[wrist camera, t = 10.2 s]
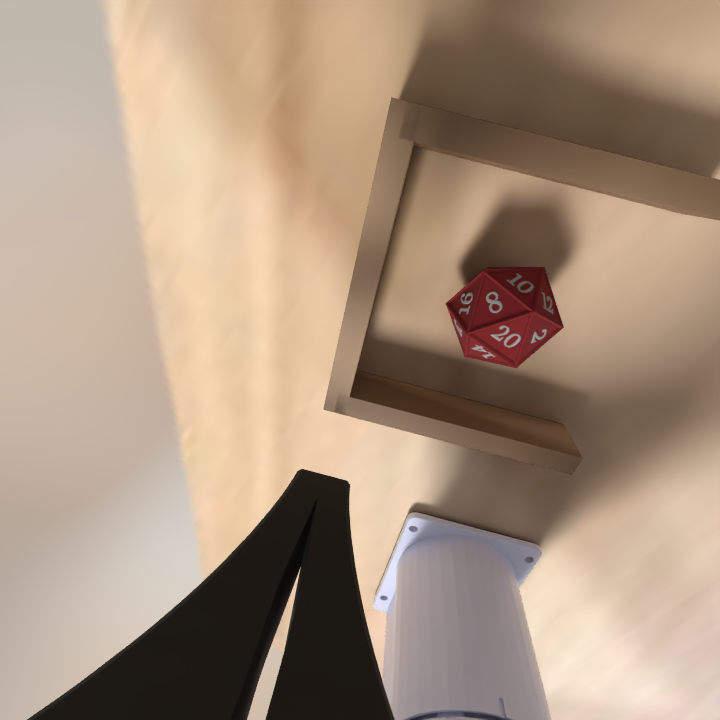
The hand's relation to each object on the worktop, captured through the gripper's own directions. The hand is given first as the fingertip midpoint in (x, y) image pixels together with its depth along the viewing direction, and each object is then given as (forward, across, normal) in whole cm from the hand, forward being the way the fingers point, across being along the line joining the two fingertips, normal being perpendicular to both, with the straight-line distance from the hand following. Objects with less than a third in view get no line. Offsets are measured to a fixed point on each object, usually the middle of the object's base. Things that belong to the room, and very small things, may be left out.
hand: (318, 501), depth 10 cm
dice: (+10, -5, -4) cm, 12 cm away
